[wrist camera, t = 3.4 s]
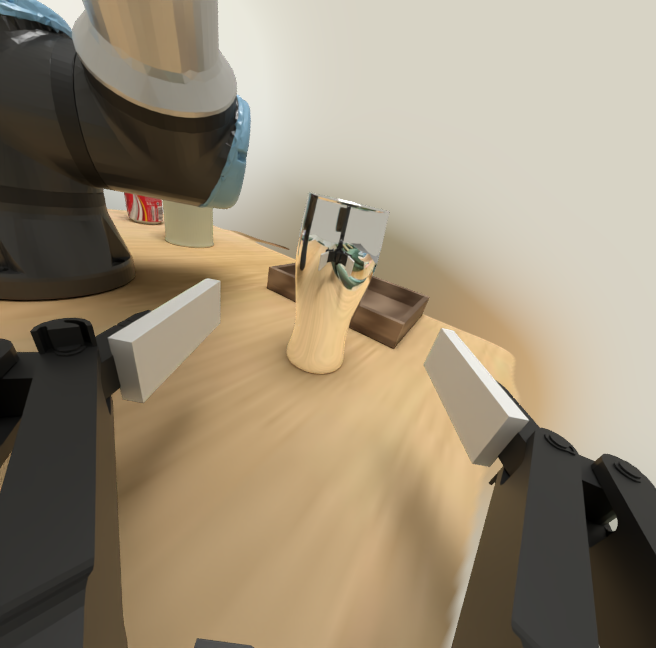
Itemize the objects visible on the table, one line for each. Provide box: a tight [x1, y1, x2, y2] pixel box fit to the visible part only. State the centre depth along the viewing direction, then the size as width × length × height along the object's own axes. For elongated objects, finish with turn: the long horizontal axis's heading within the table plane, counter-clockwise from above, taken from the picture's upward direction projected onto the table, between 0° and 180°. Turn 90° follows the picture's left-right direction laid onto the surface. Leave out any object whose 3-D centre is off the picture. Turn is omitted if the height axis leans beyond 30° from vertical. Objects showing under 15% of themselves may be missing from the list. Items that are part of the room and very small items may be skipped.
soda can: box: [124, 192, 163, 224], centre depth 58 cm, size 7×7×12 cm
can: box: [163, 200, 214, 248], centre depth 51 cm, size 9×9×12 cm
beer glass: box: [286, 192, 390, 374], centre depth 23 cm, size 7×7×15 cm
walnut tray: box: [267, 263, 430, 349], centre depth 41 cm, size 22×16×4 cm
